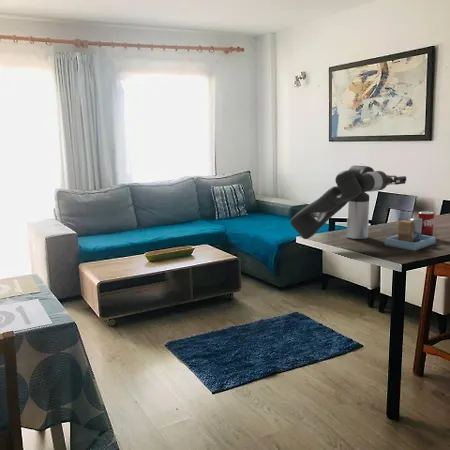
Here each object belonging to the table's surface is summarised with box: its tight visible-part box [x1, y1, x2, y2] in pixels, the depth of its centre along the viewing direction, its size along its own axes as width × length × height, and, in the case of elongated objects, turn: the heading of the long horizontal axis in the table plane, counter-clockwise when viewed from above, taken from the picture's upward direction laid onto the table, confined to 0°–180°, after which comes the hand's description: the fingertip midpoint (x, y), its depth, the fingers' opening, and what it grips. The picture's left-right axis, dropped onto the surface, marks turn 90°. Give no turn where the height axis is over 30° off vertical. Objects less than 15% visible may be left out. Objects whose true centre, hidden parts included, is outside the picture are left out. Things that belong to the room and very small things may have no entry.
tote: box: [384, 234, 437, 252], centre depth 219 cm, size 18×14×3 cm
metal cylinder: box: [409, 217, 422, 243], centre depth 220 cm, size 5×5×10 cm
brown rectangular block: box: [397, 219, 414, 243], centre depth 215 cm, size 4×4×10 cm
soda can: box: [416, 210, 436, 237], centre depth 230 cm, size 7×7×12 cm
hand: (395, 178), depth 203 cm, fingers open, 8 cm apart
